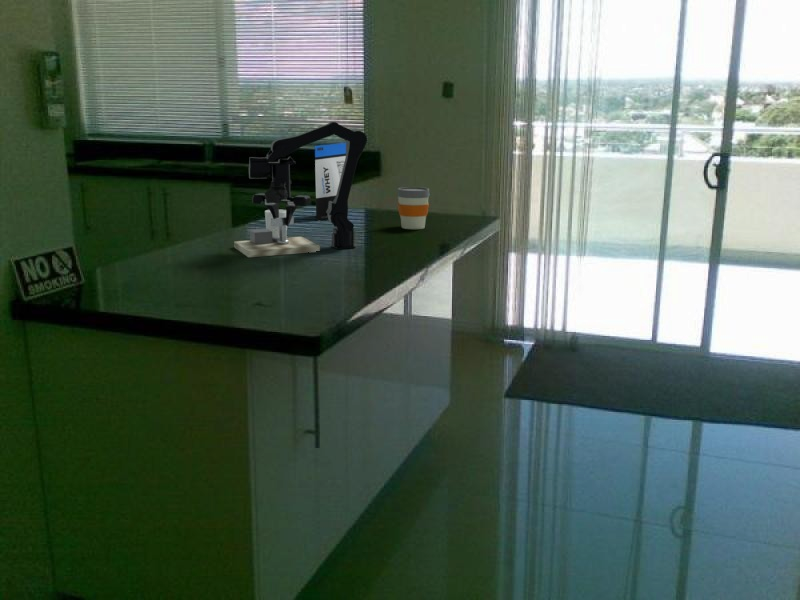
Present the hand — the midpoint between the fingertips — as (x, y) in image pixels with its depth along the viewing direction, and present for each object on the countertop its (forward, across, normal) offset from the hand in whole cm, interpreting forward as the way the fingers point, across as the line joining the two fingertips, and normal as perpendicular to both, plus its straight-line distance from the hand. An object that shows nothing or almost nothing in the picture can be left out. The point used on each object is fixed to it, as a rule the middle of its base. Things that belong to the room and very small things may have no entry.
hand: (282, 225), depth 263 cm
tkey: (+6, -2, +1) cm, 6 cm away
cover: (+6, -8, 0) cm, 10 cm away
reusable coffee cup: (+8, +30, +57) cm, 65 cm away
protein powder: (+8, -9, +71) cm, 72 cm away
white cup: (+8, -10, +18) cm, 22 cm away
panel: (+8, -2, 0) cm, 8 cm away
